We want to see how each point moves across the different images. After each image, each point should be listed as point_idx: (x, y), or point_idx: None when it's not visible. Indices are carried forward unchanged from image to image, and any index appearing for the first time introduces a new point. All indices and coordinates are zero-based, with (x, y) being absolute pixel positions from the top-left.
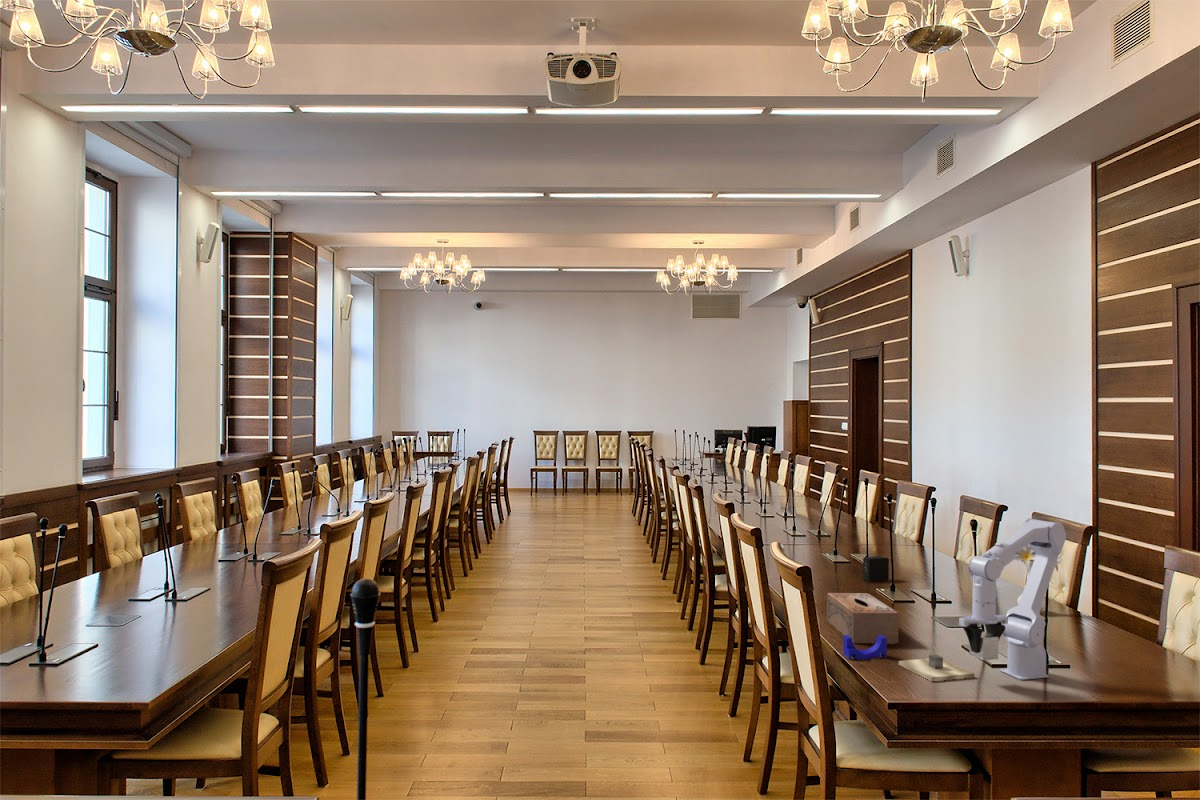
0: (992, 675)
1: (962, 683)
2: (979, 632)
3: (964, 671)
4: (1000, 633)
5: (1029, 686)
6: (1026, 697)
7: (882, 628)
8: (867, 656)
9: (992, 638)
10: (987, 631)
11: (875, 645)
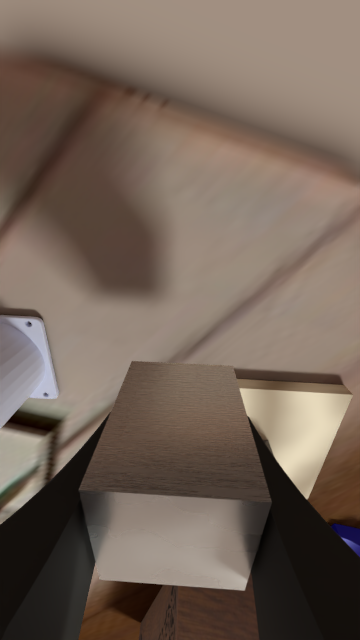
0: (107, 375)
1: (260, 350)
2: (354, 599)
3: None
4: (22, 530)
5: (49, 264)
6: (147, 163)
7: (216, 617)
8: (341, 533)
9: (155, 482)
10: (87, 578)
11: None
